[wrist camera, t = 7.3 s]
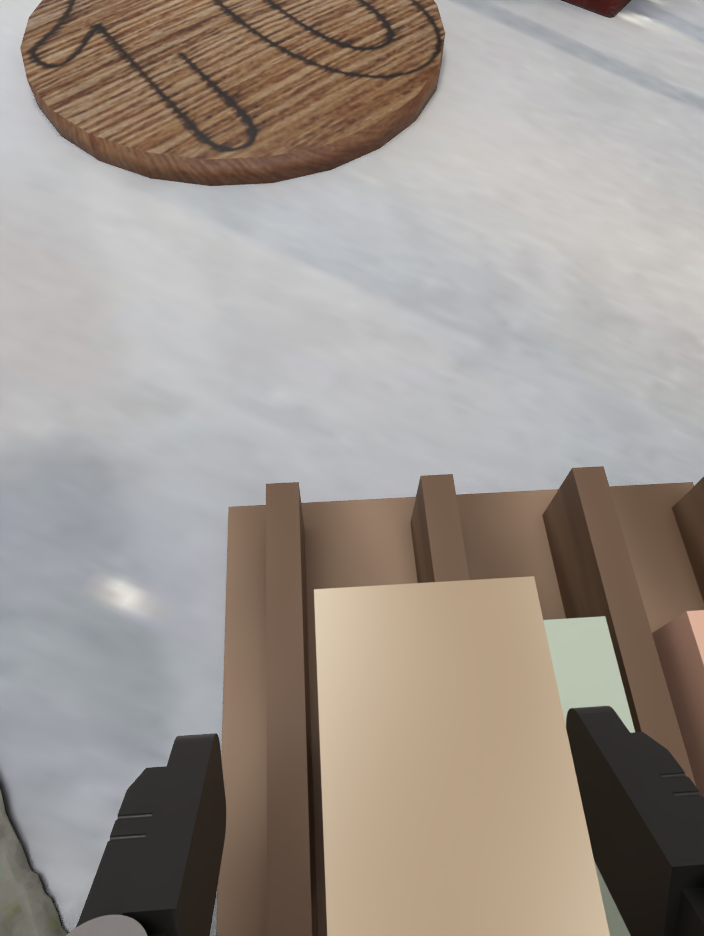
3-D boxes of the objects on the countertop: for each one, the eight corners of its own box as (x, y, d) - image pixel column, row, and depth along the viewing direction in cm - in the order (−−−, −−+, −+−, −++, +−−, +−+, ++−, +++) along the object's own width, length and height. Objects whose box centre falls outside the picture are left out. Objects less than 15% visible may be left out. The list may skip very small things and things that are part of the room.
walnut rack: (216, 1308, 15) (165, 1503, 11) (234, 524, 25) (211, 458, 20) (924, 1233, 16) (1145, 1386, 12) (674, 500, 26) (743, 432, 21)
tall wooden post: (338, 894, 18) (331, 1032, 6) (330, 737, 20) (313, 589, 8) (432, 886, 18) (625, 1008, 6) (416, 732, 20) (534, 576, 8)
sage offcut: (525, 970, 17) (579, 1012, 13) (476, 661, 21) (507, 622, 17) (622, 962, 17) (704, 1000, 13) (556, 655, 21) (604, 615, 17)
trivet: (196, 261, 32) (188, 230, 30) (-41, 47, 41) (-57, 14, 39) (524, 68, 41) (531, 36, 39) (269, -75, 49) (267, -106, 48)
